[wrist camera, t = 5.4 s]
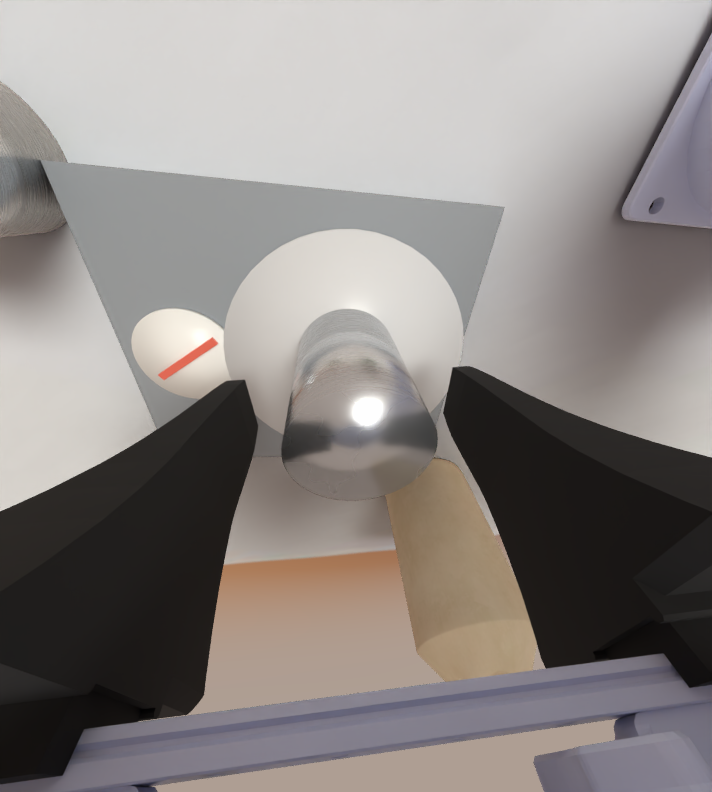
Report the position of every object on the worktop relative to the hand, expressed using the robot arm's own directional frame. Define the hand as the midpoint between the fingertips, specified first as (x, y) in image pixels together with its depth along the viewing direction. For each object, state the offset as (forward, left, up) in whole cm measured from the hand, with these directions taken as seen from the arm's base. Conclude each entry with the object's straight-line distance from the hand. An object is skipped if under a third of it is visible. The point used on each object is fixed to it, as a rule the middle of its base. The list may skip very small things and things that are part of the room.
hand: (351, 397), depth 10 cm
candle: (-6, +10, -4) cm, 12 cm away
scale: (+2, 0, -4) cm, 4 cm away
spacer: (0, 0, -2) cm, 2 cm away
